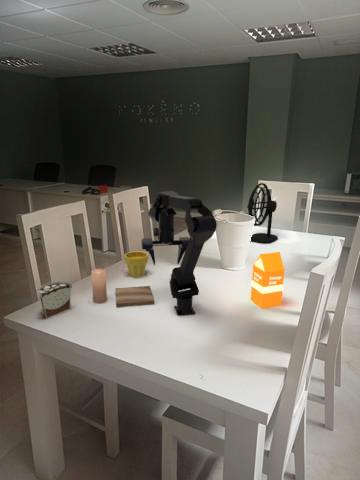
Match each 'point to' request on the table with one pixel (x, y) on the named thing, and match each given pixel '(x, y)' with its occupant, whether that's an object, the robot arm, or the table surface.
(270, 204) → the desk fan
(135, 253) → the plant pot
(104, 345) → the table surface
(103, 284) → the pillar candle
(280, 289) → the orange juice
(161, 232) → the robot arm
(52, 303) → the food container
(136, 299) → the walnut board
